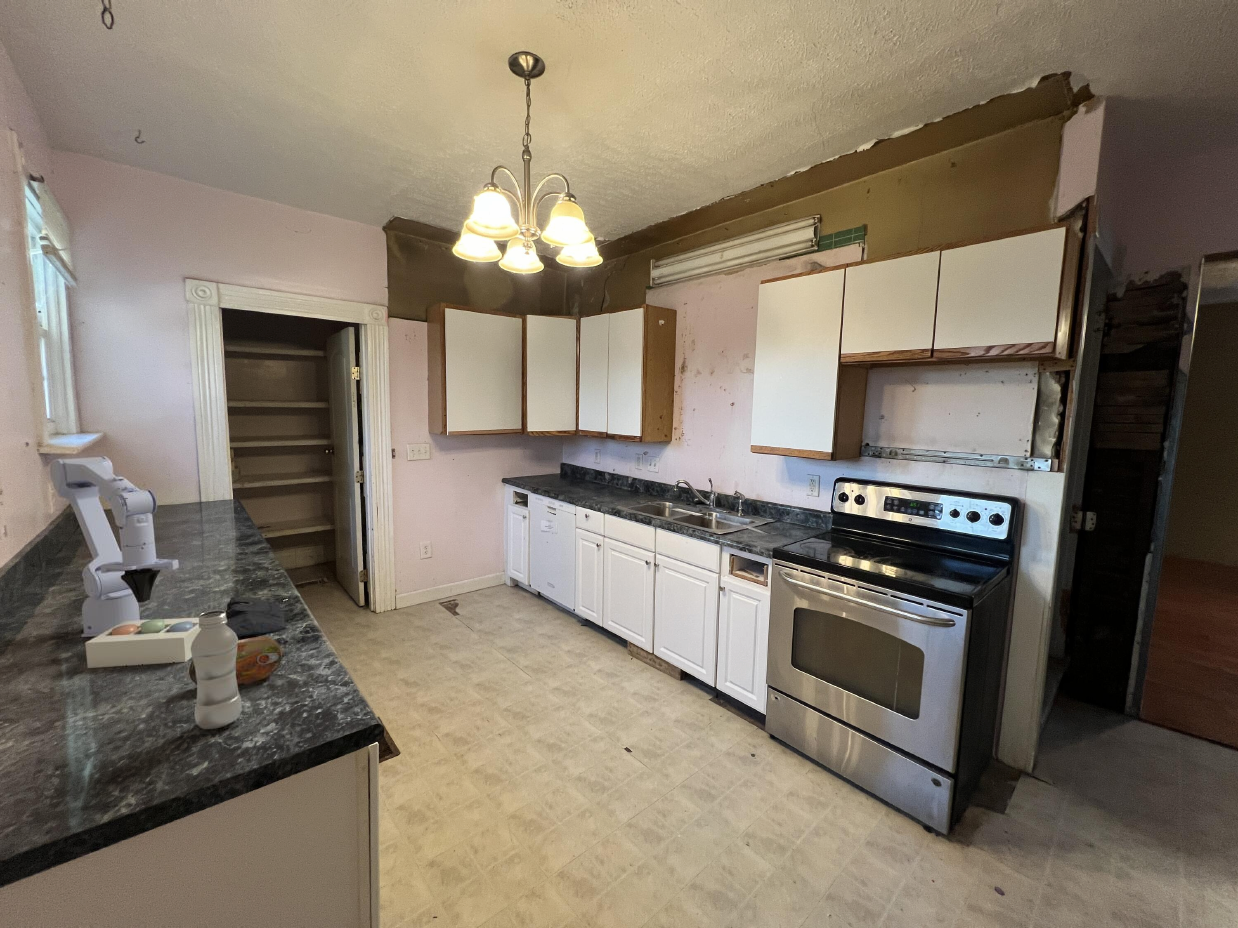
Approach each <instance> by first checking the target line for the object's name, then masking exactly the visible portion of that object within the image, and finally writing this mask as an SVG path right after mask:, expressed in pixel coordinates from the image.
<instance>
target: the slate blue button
mask: <svg viewBox="0 0 1238 928" xmlns="http://www.w3.org/2000/svg"><path fill="white" fill-rule="evenodd" d="M169 628H170V632H187V631H189V630H190V629H191V628H193V622H190V621H186V622H179V623H176V624H173V625H171V626H170V627H169Z"/></svg>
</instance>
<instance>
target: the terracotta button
mask: <svg viewBox="0 0 1238 928" xmlns="http://www.w3.org/2000/svg"><path fill="white" fill-rule="evenodd" d="M136 630H137V626H136V625H135V624H128V625H123V626H119V627H116V628H114V629H112V630H111V631H112V636H114V635H129V634H131V633H133V632H134V631H136Z"/></svg>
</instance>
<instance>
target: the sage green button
mask: <svg viewBox="0 0 1238 928" xmlns="http://www.w3.org/2000/svg"><path fill="white" fill-rule="evenodd" d="M164 619H165V618H164ZM164 619H163V618H156V619H155V618H153V619H148V620H149V621H146V622H143V623H142V624H141V625H140V627H141V634H151V633H159V632H161V631H162V630H164V629H165V620H164Z"/></svg>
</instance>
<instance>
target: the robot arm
mask: <svg viewBox="0 0 1238 928" xmlns="http://www.w3.org/2000/svg"><path fill="white" fill-rule="evenodd" d="M49 466H50V467H49V473H50V474H49V475H50V476H49V477H50V479H51V482H52V484H53V487H54V489H55V492H56V493H57V495H58V496H59V497H60V498H63V499H66V500H68V501H69V504H70V506H71V507H72V509H73V513H74V514H75V517H76V519H77V521H78V525H79V527H80V529H81V531H82V535H83V536H84V538H85V539H84V540H85V542H86V544H87V547H88V549H89V552H90V554H91V556H92V560H91V561H90V562H89V563H88V564H87V565H85V567H84V568H83V570H82V573H81V576H82V580H83V587H84V592H86V595H87V596H88V597H87V598H85V600H84V602H83V604H82V608H81V616H82V617H81V618H82V626H83V628H82V629H83V633H82V634H81V637H82V638H86V637H88V638H89V637H97V636H99V635H100V634H102V633H104V632H106V631H108V630H109V629H111V628H113V627H115V626H117V625H118V624H120V623H122V622H124V621H139V620H141V619H140V608H139V607H140V606H139V603H145V602H147V601H150V600H151V594H152V589H153V587H154V584H155V582H156V579H157V578H158V576H159V574H160V573H161V570H163V571H164V570H168V571H174V570H177V569H178V568H180V566H179V560H178V559H165V558H164V559H163V558H157V552H156V541H155V531H154V522H153V521H154V520H153V518H154V517H153V515H154V514H155V513H156V512H157V509H158V501H157V497H156V495H155V494H154V492H153V491H152V490H151V489H149V488H147V489H139V488H138V487H137V486H136V485H134V484H133V483H132V482H131V481H129V480H128V479H126V478H125V477H124V476H121V475H120V476H116V475H115V474H114V467H113V463H112V461H111V460H110V458H108V457H107V456H106V455H105V456H104V455H102V456H97V457H96V456H94V457H78V458H77V457H76V458H64V459H60V458H55V459H54V460H52V462H51V463H50V465H49ZM99 497H101V498H103V499H104V500H105V501H106V502H108V504H110V506H111V507H110V508H111V512H112V514H113V517H114V521H115V524H116V526H118V529H119V530H118V531H119V539H120V540H119V541H120V547H119V545H118V543H117V541H116V540H117V539H116V538H115V535H114V533H113V529H112V528H111V525H110V523H109V521H108V518H107V516H106V513H105V511H104V509H103V506H102V504H101V502H100V498H99Z"/></svg>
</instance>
